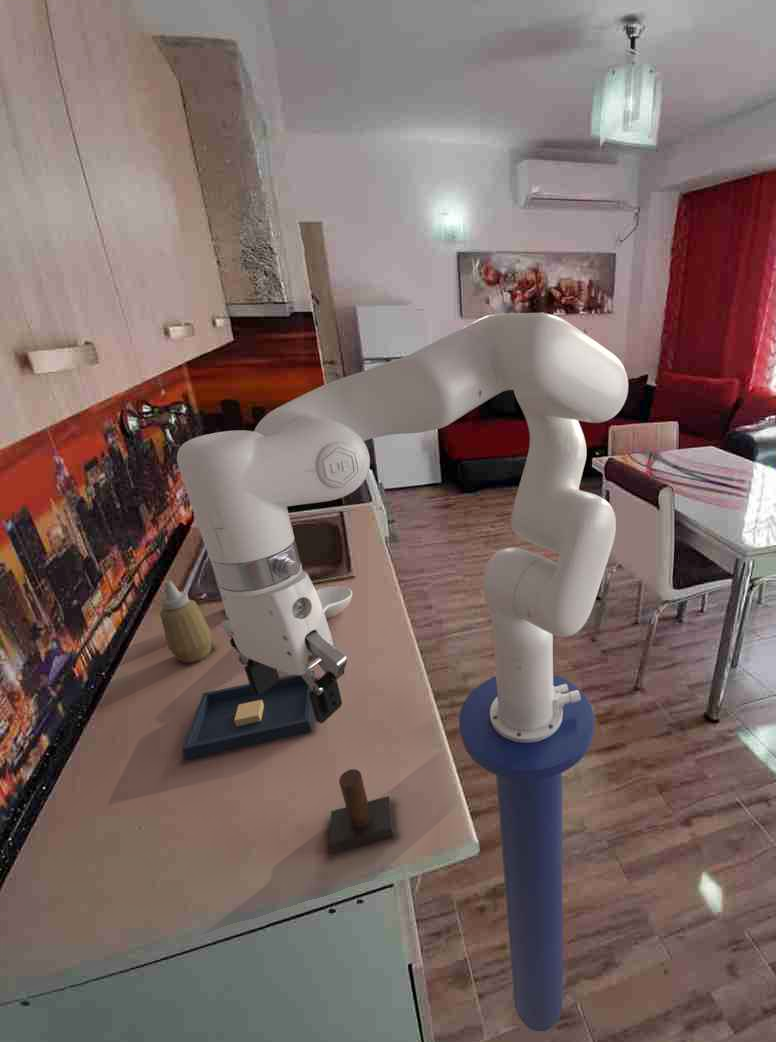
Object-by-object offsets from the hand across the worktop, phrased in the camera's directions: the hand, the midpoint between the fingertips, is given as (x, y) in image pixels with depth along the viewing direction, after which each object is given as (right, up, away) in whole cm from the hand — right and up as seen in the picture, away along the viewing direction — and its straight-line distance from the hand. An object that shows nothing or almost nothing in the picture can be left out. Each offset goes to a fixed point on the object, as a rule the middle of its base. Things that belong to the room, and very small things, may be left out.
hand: (297, 700), depth 56 cm
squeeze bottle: (-43, -7, +53) cm, 68 cm away
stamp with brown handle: (+3, -22, +14) cm, 27 cm away
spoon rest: (-17, -2, +60) cm, 63 cm away
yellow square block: (-22, -14, +35) cm, 43 cm away
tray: (-21, -14, +35) cm, 43 cm away
